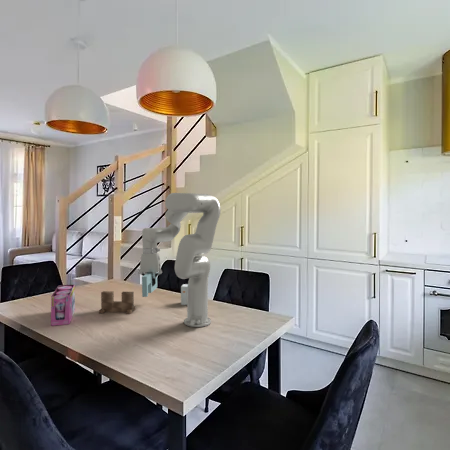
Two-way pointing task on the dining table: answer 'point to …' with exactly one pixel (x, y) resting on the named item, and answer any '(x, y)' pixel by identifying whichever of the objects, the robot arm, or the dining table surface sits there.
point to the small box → (184, 294)
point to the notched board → (148, 284)
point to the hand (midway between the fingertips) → (150, 285)
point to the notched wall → (117, 302)
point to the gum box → (62, 305)
